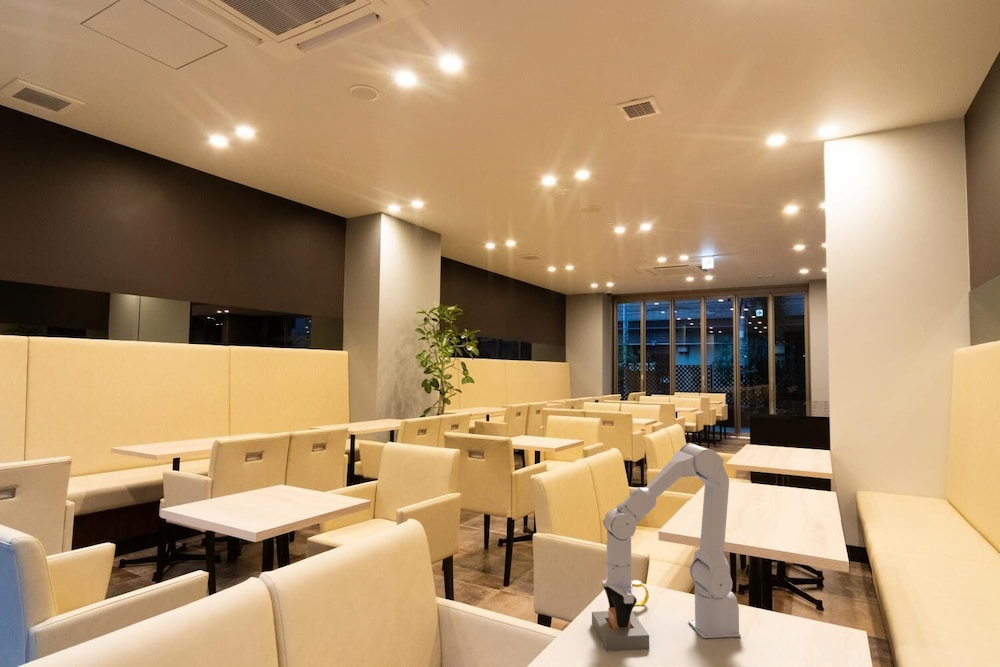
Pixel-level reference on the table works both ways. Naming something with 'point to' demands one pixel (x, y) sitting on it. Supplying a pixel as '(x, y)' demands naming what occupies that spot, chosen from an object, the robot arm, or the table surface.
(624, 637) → the socket block
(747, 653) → the table surface
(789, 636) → the table surface
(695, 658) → the table surface
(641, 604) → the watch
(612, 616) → the plug
